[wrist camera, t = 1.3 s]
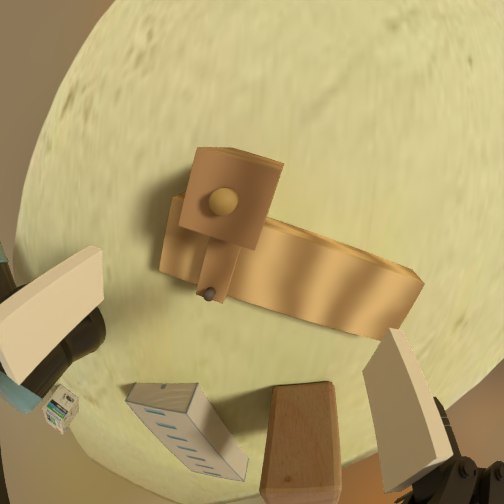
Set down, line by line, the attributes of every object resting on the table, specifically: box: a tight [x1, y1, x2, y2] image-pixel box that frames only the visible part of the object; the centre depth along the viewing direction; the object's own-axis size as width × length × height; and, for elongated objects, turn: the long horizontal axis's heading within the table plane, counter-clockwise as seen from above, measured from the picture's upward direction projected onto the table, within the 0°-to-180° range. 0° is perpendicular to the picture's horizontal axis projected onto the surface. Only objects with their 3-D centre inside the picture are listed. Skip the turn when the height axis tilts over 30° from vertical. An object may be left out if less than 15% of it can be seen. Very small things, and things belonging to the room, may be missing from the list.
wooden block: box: [259, 382, 342, 504], centre depth 32 cm, size 10×10×20 cm
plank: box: [159, 192, 424, 341], centre depth 31 cm, size 30×9×4 cm, turn 73°
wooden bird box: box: [179, 147, 284, 304], centre depth 26 cm, size 6×15×13 cm, turn 163°
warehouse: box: [125, 383, 249, 482], centre depth 46 cm, size 30×14×8 cm, turn 17°
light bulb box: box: [42, 385, 78, 434], centre depth 52 cm, size 11×7×11 cm, turn 152°
